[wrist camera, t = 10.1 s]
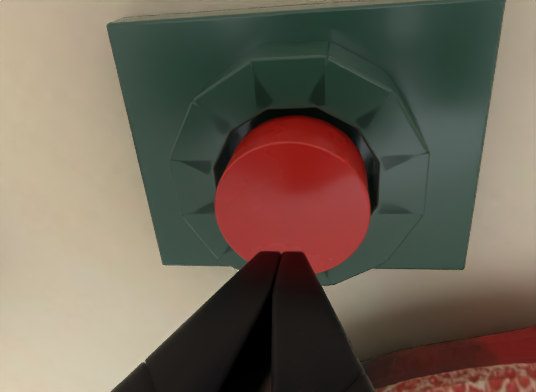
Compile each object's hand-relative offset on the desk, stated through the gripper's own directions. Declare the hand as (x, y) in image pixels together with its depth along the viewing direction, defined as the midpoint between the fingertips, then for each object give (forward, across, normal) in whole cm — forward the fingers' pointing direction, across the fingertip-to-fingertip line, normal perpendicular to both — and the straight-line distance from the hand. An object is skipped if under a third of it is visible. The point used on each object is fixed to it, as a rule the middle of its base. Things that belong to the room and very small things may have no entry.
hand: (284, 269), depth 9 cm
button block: (+6, 0, 0) cm, 6 cm away
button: (+4, 0, 0) cm, 4 cm away
